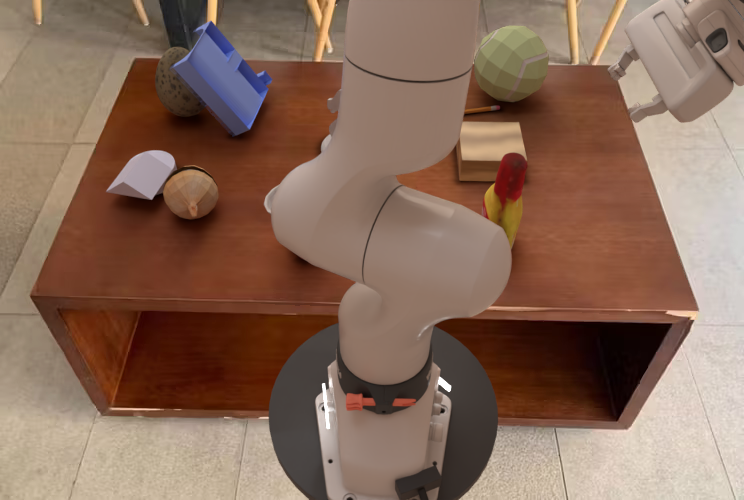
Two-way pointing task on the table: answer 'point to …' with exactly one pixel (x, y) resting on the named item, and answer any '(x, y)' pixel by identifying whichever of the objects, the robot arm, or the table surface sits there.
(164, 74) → the decorative egg
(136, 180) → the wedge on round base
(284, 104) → the table surface
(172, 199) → the acorn
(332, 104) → the chess piece
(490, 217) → the bottle
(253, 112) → the blue plastic box
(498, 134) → the birch block
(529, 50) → the decorative sphere
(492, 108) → the pencil
